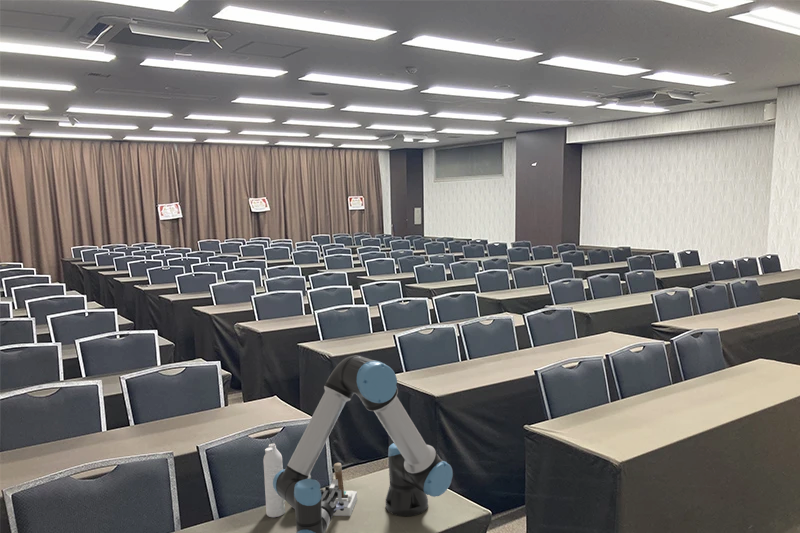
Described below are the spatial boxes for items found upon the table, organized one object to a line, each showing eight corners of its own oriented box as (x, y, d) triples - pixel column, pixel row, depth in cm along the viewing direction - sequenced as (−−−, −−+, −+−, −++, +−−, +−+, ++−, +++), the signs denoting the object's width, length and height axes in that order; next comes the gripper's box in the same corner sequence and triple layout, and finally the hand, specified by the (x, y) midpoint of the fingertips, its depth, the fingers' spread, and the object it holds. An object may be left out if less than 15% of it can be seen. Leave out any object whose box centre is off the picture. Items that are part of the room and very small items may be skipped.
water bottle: (269, 508, 204) (265, 440, 202) (287, 508, 204) (283, 440, 202) (262, 521, 195) (258, 450, 194) (281, 521, 195) (277, 450, 193)
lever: (348, 495, 204) (345, 462, 200) (347, 500, 202) (343, 467, 198) (335, 495, 205) (331, 462, 201) (333, 500, 202) (330, 467, 198)
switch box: (357, 499, 209) (356, 487, 208) (350, 516, 197) (349, 503, 196) (333, 498, 210) (332, 486, 209) (325, 515, 198) (324, 502, 197)
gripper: (298, 529, 176) (318, 493, 199) (339, 530, 174) (354, 493, 198) (297, 505, 175) (317, 472, 199) (338, 506, 174) (353, 472, 197)
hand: (335, 483), depth 198 cm, fingers closed
